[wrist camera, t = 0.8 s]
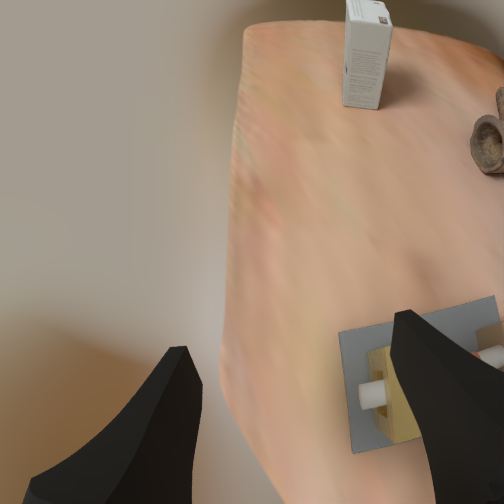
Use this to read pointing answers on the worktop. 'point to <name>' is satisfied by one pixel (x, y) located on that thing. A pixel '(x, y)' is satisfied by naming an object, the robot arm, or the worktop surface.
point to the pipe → (490, 139)
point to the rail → (375, 337)
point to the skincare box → (365, 52)
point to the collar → (391, 400)
